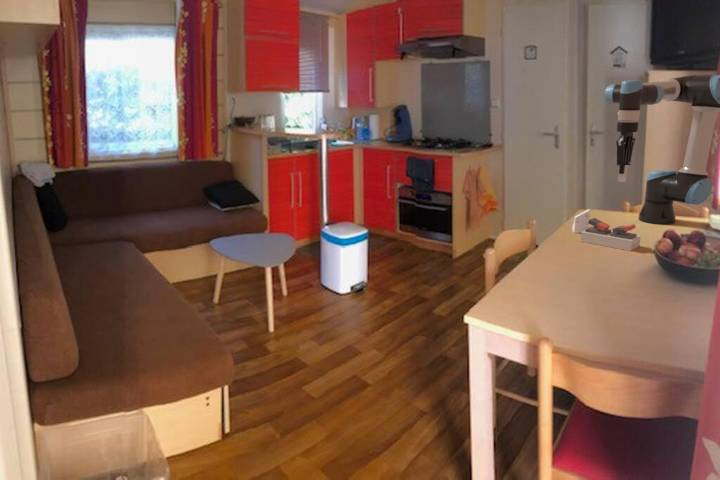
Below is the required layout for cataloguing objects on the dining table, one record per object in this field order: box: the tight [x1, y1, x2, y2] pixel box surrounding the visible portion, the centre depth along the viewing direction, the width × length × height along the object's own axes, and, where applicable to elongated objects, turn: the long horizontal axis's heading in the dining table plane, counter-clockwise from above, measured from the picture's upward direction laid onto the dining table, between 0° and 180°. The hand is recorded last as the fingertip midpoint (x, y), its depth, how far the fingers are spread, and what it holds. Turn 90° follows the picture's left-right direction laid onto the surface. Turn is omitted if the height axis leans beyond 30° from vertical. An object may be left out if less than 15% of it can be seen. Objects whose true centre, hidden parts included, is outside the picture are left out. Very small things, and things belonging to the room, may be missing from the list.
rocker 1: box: [588, 217, 611, 231], centre depth 244 cm, size 5×7×2 cm
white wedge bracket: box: [571, 208, 591, 234], centre depth 260 cm, size 4×10×9 cm, turn 84°
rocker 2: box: [611, 223, 636, 234], centre depth 237 cm, size 5×7×2 cm
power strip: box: [580, 226, 641, 252], centre depth 242 cm, size 9×20×5 cm, turn 45°
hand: (621, 181), depth 240 cm, fingers closed
